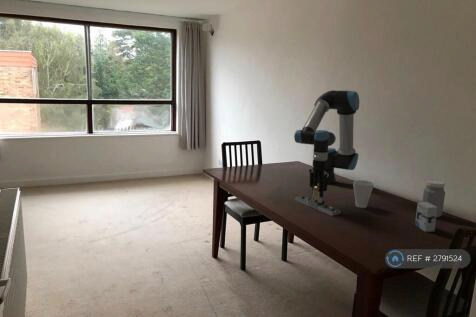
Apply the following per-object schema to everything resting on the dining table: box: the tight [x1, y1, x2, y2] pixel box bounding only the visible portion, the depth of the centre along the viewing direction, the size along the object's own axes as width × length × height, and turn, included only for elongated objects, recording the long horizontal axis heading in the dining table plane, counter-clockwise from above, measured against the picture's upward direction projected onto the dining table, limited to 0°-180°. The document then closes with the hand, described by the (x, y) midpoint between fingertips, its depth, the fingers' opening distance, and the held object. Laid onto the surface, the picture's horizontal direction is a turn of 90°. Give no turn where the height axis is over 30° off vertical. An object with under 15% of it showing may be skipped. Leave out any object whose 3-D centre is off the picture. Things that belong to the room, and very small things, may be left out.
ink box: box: [414, 201, 438, 233], centre depth 168 cm, size 8×5×12 cm, turn 5°
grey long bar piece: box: [294, 195, 342, 217], centre depth 195 cm, size 29×7×4 cm, turn 32°
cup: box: [352, 180, 375, 209], centre depth 197 cm, size 10×10×14 cm
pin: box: [313, 184, 320, 205], centre depth 194 cm, size 5×5×11 cm
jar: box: [421, 179, 446, 219], centre depth 185 cm, size 10×10×18 cm
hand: (317, 201), depth 195 cm, fingers closed on pin, 3 cm apart
